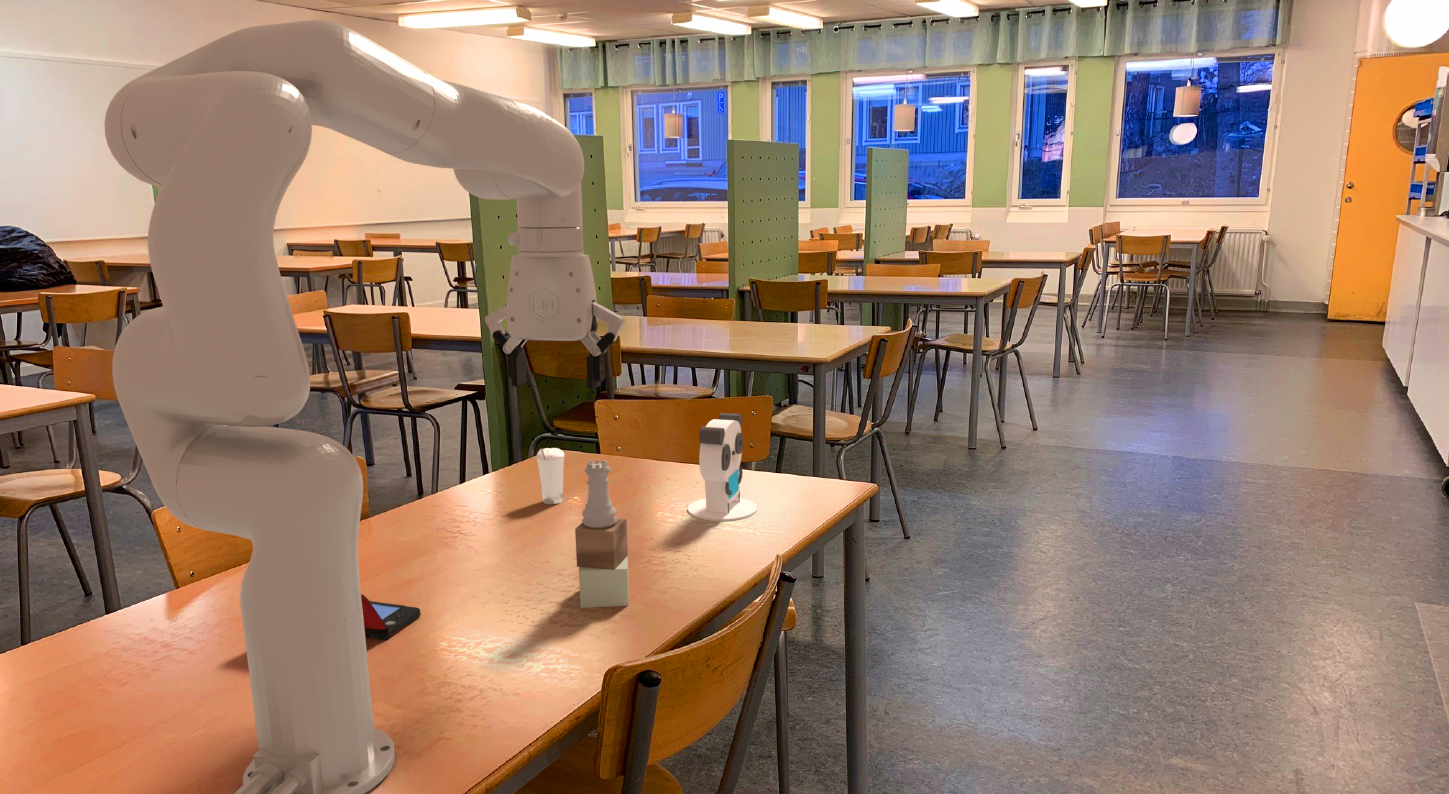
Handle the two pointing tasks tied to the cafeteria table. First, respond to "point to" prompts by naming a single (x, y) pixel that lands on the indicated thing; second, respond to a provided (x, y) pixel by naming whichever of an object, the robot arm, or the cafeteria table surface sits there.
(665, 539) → the cafeteria table surface
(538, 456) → the milkshake
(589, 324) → the robot arm
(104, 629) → the cafeteria table surface
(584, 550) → the top block
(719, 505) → the panda figurine
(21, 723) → the cafeteria table surface
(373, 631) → the handheld game console
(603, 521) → the rook chess piece
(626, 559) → the base block
